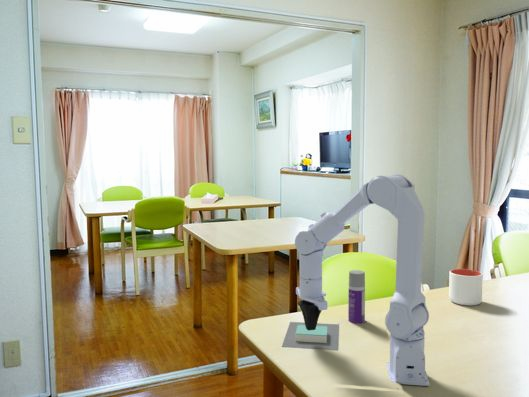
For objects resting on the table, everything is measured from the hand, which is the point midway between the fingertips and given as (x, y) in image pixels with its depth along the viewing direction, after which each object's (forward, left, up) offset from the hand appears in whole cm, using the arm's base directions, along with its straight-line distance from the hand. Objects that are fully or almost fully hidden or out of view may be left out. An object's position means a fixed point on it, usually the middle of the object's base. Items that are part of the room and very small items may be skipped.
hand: (310, 329), depth 117 cm
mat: (+5, 0, -4) cm, 6 cm away
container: (+18, -12, -4) cm, 22 cm away
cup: (+43, -48, -4) cm, 65 cm away
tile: (0, 0, -2) cm, 2 cm away
